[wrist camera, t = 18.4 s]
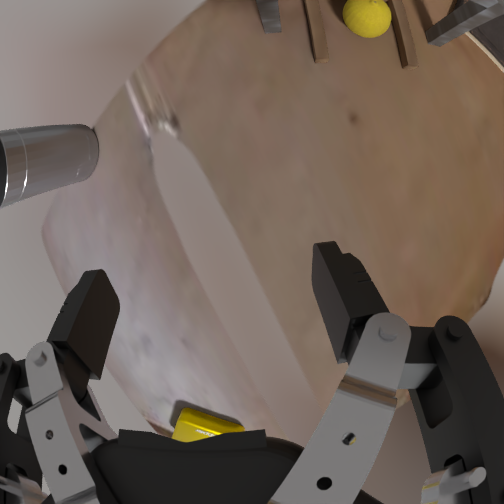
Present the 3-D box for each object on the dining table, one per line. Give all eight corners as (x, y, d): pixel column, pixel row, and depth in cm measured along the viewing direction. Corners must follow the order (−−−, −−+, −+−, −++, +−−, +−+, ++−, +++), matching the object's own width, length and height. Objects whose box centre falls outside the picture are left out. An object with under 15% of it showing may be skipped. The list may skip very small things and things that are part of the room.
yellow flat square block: (247, 425, 53) (244, 442, 49) (229, 448, 59) (225, 462, 55) (183, 403, 53) (177, 419, 49) (175, 429, 59) (169, 443, 54)
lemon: (329, 19, 24) (338, -10, 16) (362, 6, 22) (376, -22, 15) (356, 51, 25) (372, 28, 18) (388, 37, 23) (410, 15, 16)
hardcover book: (528, 21, 12) (534, 19, 10) (516, 92, 21) (524, 91, 19) (468, -37, 11) (473, -41, 9) (447, 22, 20) (454, 17, 18)
